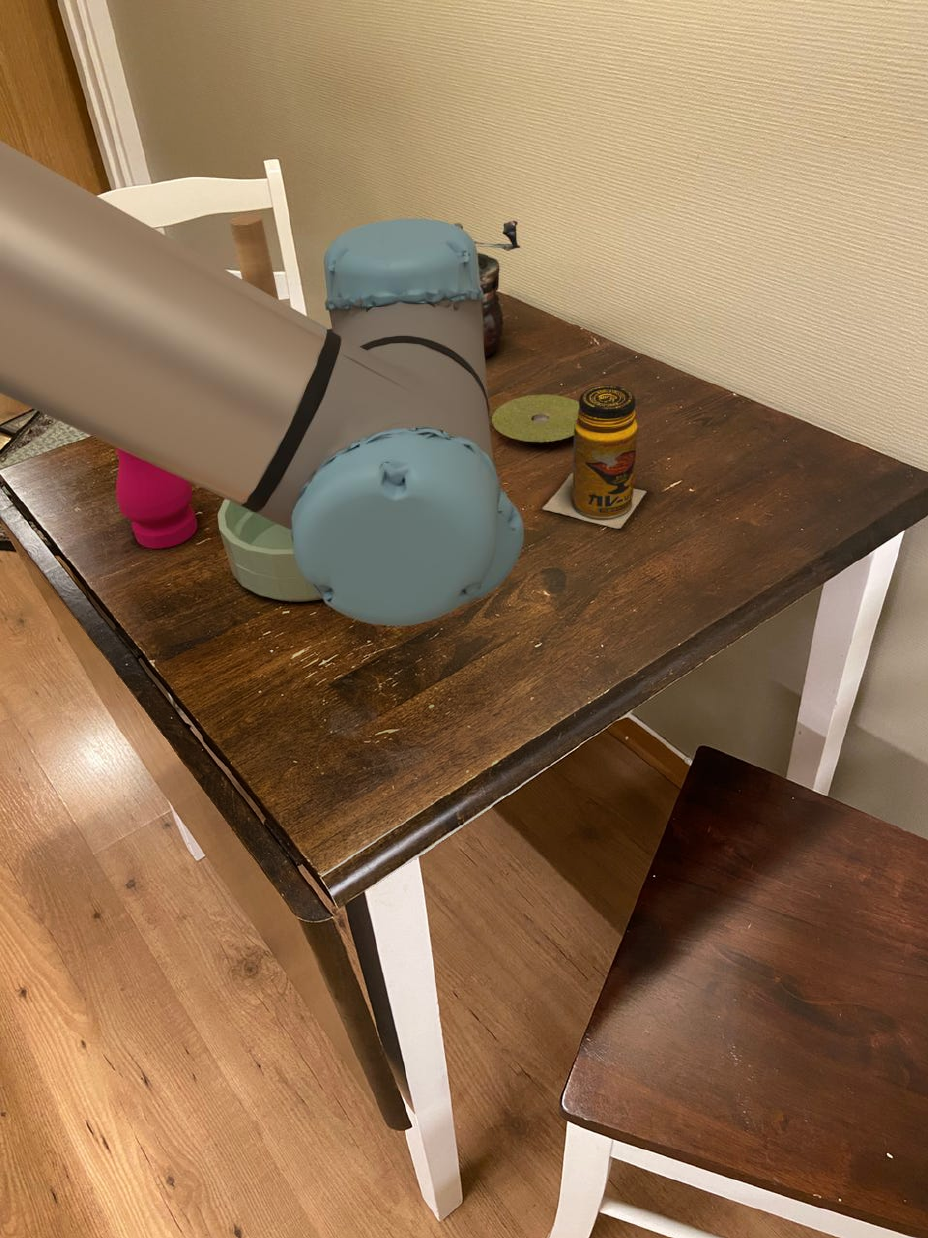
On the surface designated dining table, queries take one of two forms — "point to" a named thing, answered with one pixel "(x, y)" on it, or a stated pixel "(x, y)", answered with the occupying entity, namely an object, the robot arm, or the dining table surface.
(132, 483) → the pepper mill
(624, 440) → the condiment
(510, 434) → the olive green flat disc
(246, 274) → the wooden post with base
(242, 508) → the bowl
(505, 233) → the coffee grinder
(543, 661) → the dining table surface
